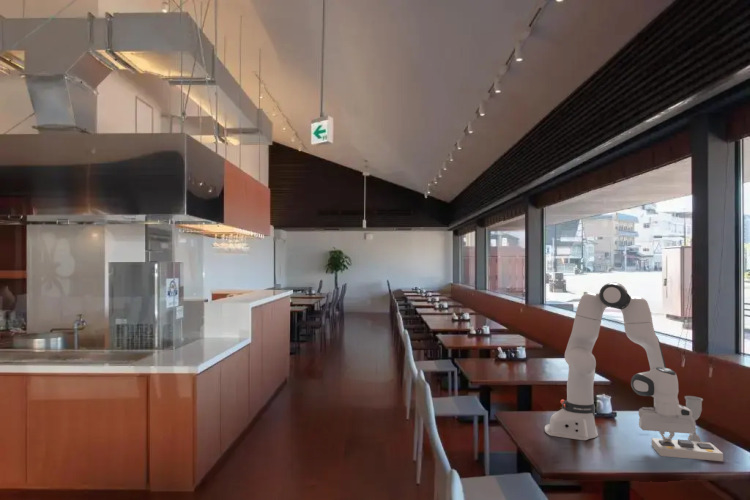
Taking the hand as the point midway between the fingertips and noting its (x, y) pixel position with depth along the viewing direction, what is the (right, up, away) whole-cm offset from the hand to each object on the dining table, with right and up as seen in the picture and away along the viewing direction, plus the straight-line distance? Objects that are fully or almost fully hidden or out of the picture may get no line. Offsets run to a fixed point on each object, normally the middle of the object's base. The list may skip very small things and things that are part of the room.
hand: (667, 442), depth 204 cm
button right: (+13, -2, -4) cm, 14 cm away
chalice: (+20, -4, +13) cm, 24 cm away
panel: (+6, -4, -2) cm, 8 cm away
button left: (0, -2, 0) cm, 3 cm away
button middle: (+6, -2, -2) cm, 7 cm away
